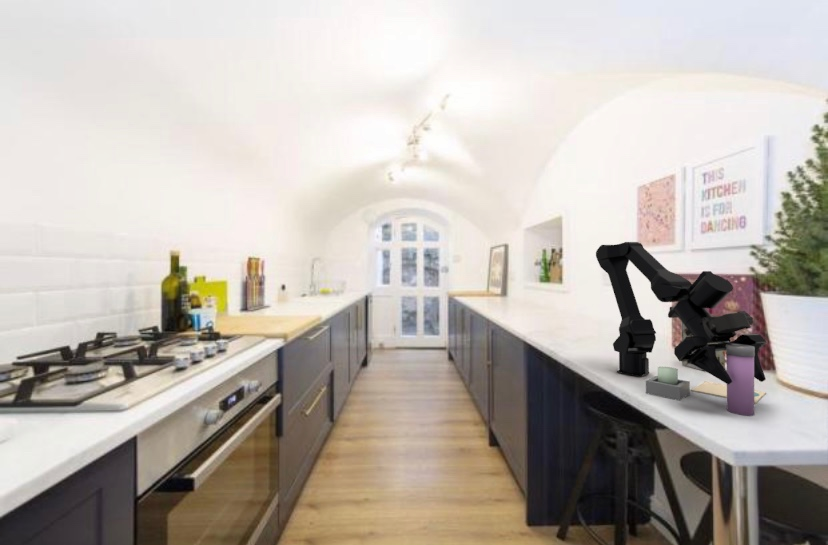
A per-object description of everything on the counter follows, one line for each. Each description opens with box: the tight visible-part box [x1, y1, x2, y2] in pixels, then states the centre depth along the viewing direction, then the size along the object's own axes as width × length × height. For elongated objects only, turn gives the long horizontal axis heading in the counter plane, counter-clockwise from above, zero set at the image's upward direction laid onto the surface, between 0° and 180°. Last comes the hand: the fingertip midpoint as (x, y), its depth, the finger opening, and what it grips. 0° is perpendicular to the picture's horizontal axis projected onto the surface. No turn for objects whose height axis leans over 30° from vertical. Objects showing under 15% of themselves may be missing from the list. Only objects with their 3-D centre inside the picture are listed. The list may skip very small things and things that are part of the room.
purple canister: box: [725, 344, 755, 417], centre depth 81 cm, size 5×5×14 cm
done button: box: [657, 366, 679, 385], centre depth 93 cm, size 4×4×4 cm
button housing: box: [645, 375, 691, 401], centre depth 93 cm, size 7×7×3 cm
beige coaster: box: [690, 381, 767, 405], centre depth 94 cm, size 12×11×1 cm
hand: (747, 381), depth 80 cm, fingers open, 8 cm apart
